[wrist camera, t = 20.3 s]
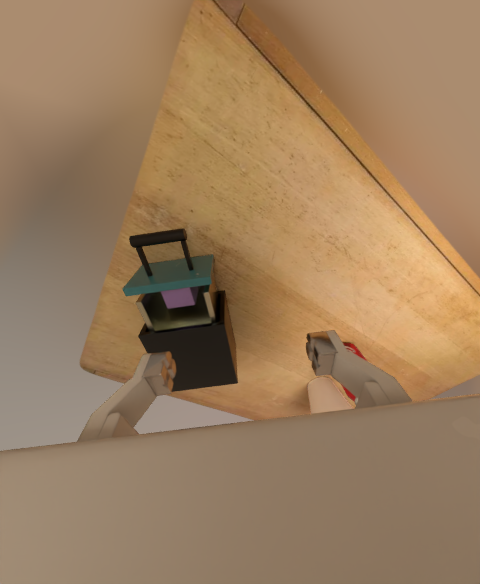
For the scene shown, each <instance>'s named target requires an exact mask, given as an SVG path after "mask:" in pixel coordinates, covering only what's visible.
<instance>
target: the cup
mask: <svg viewBox="0 0 480 584" xmlns="http://www.w3.org/2000/svg"><path fill="white" fill-rule="evenodd" d="M307 387H308V394H309V401H310V408H311V414H314V413H322V412H330V411H338V410H347V409H353V407H352V406H351V405H350V404H349V402H348V401H347V400H346V398H345V397H344V396H343V394H342V393H341V392H340V390H339V389H338V388H337V387H336V385H335V384H334V383H333V381H332V380H331V379H330V378H328V377H319V378H315V379H313V380H312V381H310V382H309V384H308V386H307Z"/></svg>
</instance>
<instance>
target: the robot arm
mask: <svg viewBox="0 0 480 584" xmlns="http://www.w3.org/2000/svg"><path fill="white" fill-rule="evenodd" d="M307 340H308V342H307V343H306V352H307V355H308V358H309V360H311V361H312V368H313V370H314V372H315V375H316V376H320V375H331V376H332V377H334V378H335V379H336V380H337V381H338V382H339V383H340V384H342V385H343V386H344V387H345V388H346V389H347V390H348V391H350V392H351V393H352V394H353V395H354V396H355V397H356V398H358V402H357V404H356V407H355V409H347V410H338V411H330V412H322V413H314V414H305V415H297V416H288V417H280V418H272V419H263V420H255V421H247V422H239V423H231V424H222V425H214V426H205V427H197V428H189V429H181V430H173V431H164V432H156V433H147V434H138V432H137V431H136V430H135V429H134V428H133V427H134V426H135V425H136V423H137V422H138V421H139V419H140V418H141V417H142V416H143V414H144V413H145V412H146V410H147V409H148V408H149V406H150V405H151V404H152V402H153V401H154V400H155V398H156V397H157V396H159V395H166V394H171V392H172V388H173V381H172V379H173V378H174V377H175V375H176V363H175V360H174V359H172V358H171V357H172V354H171V352H170V351H167V352H157V353H148V354H143V355H142V357H141V359H140V362H139V364H138V366H137V369H136V371H135V373H134V376H133V378H132V379H129V380H128V381H127V382H126V383H125V384H124V385H123V386H122V387H121V388H120V389H119V390H117V391H116V392H115V393H114V394H113V395H112V396H111V397H110V398H109V399H108V400H107V401H106V402H104V403H103V404H102V405H101V406H100V407H99V408H98V409H97V410H96V411H95V412H94V413H93V414H92V415H91V416H90V418H89V420H88V422H87V424H86V426H85V428H84V430H83V431H82V433H81V435H80V437H79V439H78V441H77V442H72V443H63V444H55V445H47V446H38V447H29V448H21V449H12V450H4V451H0V584H480V394H472V395H463V396H455V397H448V398H438V399H430V400H422V401H412V400H411V398H410V397H409V396H408V394H407V393H406V392H405V391H404V389H403V388H402V387H401V385H400V384H399V383H398V381H397V380H396V379H395V378H394V377H393V376H391V375H389V374H388V373H386V372H384V371H383V370H381V369H379V368H378V367H376V366H374V365H373V364H371V363H369V362H368V361H366V360H364V359H363V358H361V357H359V356H358V355H356V354H354V353H353V352H351V351H350V352H348V350H347V349H346V347H345V346H344V344H343V343H342V341H341V340H340V338H339V336H338V335H337V333H336V332H335V331H334V330H329V331H321V332H314V333H308V334H307Z"/></svg>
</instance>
